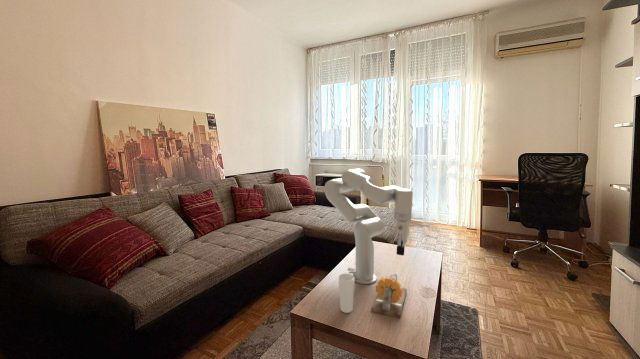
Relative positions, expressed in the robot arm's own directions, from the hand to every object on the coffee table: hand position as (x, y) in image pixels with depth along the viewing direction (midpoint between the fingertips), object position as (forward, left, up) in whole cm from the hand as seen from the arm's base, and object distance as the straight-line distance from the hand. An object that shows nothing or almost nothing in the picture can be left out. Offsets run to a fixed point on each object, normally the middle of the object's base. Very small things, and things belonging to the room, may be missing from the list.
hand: (400, 254), depth 128 cm
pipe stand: (-3, -7, -20) cm, 21 cm away
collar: (-3, -11, -18) cm, 21 cm away
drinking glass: (-19, -21, -20) cm, 35 cm away
